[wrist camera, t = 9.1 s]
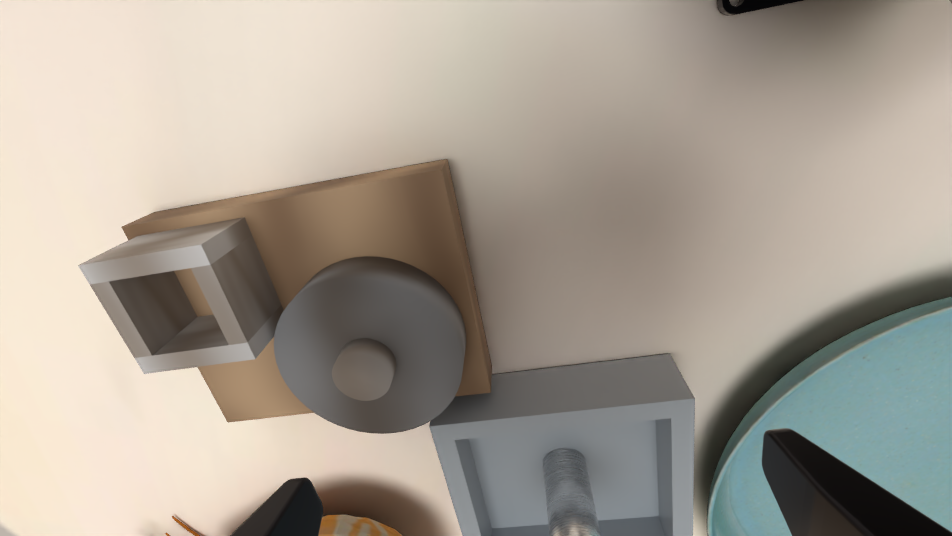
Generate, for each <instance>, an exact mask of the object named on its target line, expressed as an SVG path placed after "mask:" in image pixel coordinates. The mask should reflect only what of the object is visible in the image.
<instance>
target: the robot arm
mask: <svg viewBox="0 0 952 536" xmlns="http://www.w3.org/2000/svg"><path fill="white" fill-rule="evenodd" d="M798 1H803V0H739V2H738V3H737V4H736V6H732V5H731V4H730V1H729V0H717V5H718V9H719V10H720V12H721V13H723V14H725V15H735V14H740V13H745V12H750V11H755V10H759V9H764V8H769V7H774V6H779V5H784V4H788V3H793V2H798ZM950 1H951V3H952V0H950ZM762 468H763V471H764V474H765V477H766V479H767V481H768V483H769V486H770V488H771V490H772V492H773V495H774V497H775V499H776V501H777V503H778V506H779V508H780V510H781V512H782V515H783V517H784V519H785V521H786V523H787V526H788V528H789V530H790V532H791V534H792V536H952V532H951V531H949V530H948V529H946V528H945V527H943V526H942V525H940V524H939V523H937V522H935V521H934V520H932V519H931V518H929V517H928V516H926V515H925V514H923V513H921V512H920V511H918V510H917V509H915V508H914V507H912V506H911V505H909V504H907V503H906V502H904V501H903V500H901V499H900V498H898V497H897V496H895V495H894V494H892V493H890V492H889V491H887V490H886V489H884V488H883V487H881V486H880V485H878V484H876V483H875V482H873V481H872V480H870V479H869V478H867V477H866V476H864V475H863V474H861V473H859V472H858V471H856V470H855V469H853V468H852V467H850V466H849V465H847V464H845V463H844V462H842V461H841V460H839V459H838V458H836V457H835V456H833V455H832V454H830V453H828V452H827V451H825V450H824V449H822V448H821V447H819V446H818V445H816V444H814V443H813V442H811V441H810V440H808V439H807V438H805V437H804V436H802V435H800V434H799V433H797V432H796V431H794V430H792V429H789V428H782V429H772V430H767V431H766V432H765V433H764V436H763V449H762ZM322 515H323V506H322V502H321V500H320V498H319V496H318V494H317V492H316V490H315V488H314V486H313V484H312V482H311V481H310V480H309V479H308V478H296V479H290V480H288V481H286V482H285V483H284V484H283V485H282V486H281V487H280V488H279V489H278V490H277V491H276V492H275V493H274V494H273V495H272V496H271V497H270V498H269V499H267V500H266V501H265V502H264V503H263V504H262V505H261V506H260V507H259V508H258V509H257V510H256V511H255V512H254V513H253V514H252V515H251V516H250V517H249V518H248V519H247V520H246V521H245V522H244V523H243V524H242V525H241V526H240V527H239V528H238V529H237V530H235V531H234V532H233V533H232V534H231V535H230V536H318V535H319V530H320V525H321V521H322Z"/></svg>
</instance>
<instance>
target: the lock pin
mask: <svg viewBox="0 0 952 536" xmlns="http://www.w3.org/2000/svg"><path fill="white" fill-rule="evenodd" d="M542 464H543V474H544V485H545V495H546V506H547V516H548V527H549V536H601V534H600V529H599V524H598V519H597V514H596V509H595V504H594V499H593V494H592V489H591V484H590V479H589V475H588V470H587V465H586V460H585V457H584V456H583V454H582V453H580V452H579V451H577V450H575V449H572V448H557V449H554V450H552V451H550V452H549V453H547V454H546V455H545V457H544V459H543V463H542Z"/></svg>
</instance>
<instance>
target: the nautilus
mask: <svg viewBox="0 0 952 536" xmlns="http://www.w3.org/2000/svg"><path fill="white" fill-rule="evenodd" d="M172 518H173V519H174V520H175V521H176V522H177V523H179V524H180V525H181V526H182V527H184V528H185V529H186V530H187V531H189V532H191V533H192V534H193V535H195V536H200V535H199V534H197V533H196V532H194V531H193V530H191V529H190V528H188V527H187V526H186V525H184V524H183V523H182V522H180V521H179V520H178V519H176V518H175V517H174V516H172ZM165 534H166V535H167V536H170V535H169V534H167V533H165ZM318 536H402V535H401V534H400V533H399V532H398V531H397V530H395V529H394V528H391V527H389V526H387V525H384V524H382V523H379V522H377V521H375V520H372V519H370V518H364V517H354V516H350V515H327V516H323V517H322V521H321V525H320V530H319V535H318Z"/></svg>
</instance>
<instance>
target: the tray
mask: <svg viewBox="0 0 952 536" xmlns="http://www.w3.org/2000/svg"><path fill="white" fill-rule="evenodd" d="M694 417H695V398H694V396H693V394H692V393H691V391H690V389H689V387H688V386H687V384H686V382H685V380H684V378H683V377H682V375H681V373H680V371H679V369H678V368H677V366H676V364H675V362H674V360H673V359H672V357H671V355H670V354H663V355H654V356H646V357H637V358H629V359H620V360H612V361H603V362H595V363H587V364H578V365H570V366H561V367H553V368H544V369H536V370H527V371H519V372H510V373H502V374H494V375H492V378H491V393H483V394H474V395H465V396H456V397H454V399H453V400H452V402H451V403H450V404H449V406H448V407H447V408H446V409H445V410H444V411H443V412H442V413H441V414H439V415H438V416H437V417H435V418H434V419H433V420H431V421H430V426H429V427H430V430H431V433H432V437H433V440H434V443H435V446H436V450H437V453H438V456H439V460H440V463H441V466H442V469H443V473H444V476H445V479H446V483H447V486H448V489H449V492H450V496H451V499H452V502H453V505H454V509H455V512H456V515H457V519H458V522H459V525H460V528H461V532H462V535H463V536H549V527H548V516H547V506H546V495H545V485H544V474H543V464H542V463H543V459H544V457H545V455H546V454H547V453H549V452H550V451H552V450H554V449H557V448H572V449H575V450H577V451H579V452H580V453H582V454H583V456H584V457H585V460H586V465H587V470H588V475H589V479H590V484H591V489H592V494H593V499H594V504H595V509H596V514H597V519H598V524H599V529H600V534H601V536H693V490H694Z"/></svg>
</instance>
